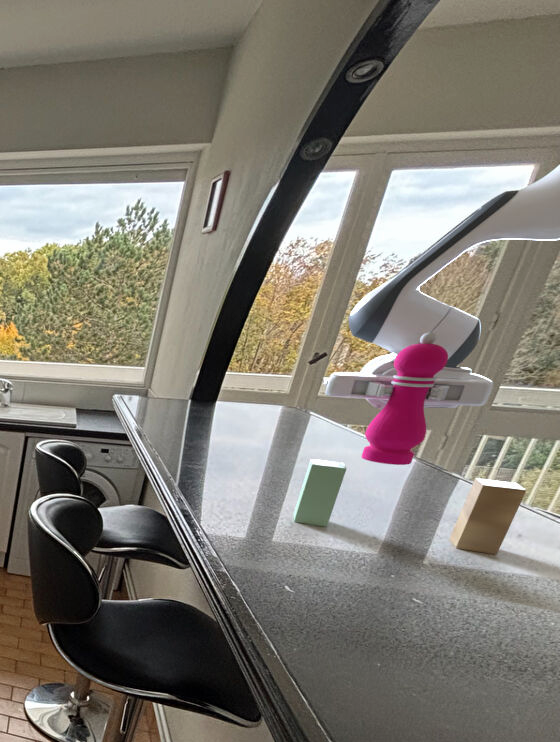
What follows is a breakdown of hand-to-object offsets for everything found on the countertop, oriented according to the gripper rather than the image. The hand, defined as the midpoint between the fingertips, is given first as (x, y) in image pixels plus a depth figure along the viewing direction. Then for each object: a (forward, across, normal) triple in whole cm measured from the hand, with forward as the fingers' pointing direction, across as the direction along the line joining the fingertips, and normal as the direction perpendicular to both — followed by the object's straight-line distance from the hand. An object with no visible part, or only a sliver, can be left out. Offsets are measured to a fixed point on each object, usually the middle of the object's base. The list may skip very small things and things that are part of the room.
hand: (410, 393), depth 92 cm
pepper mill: (-1, 0, +11) cm, 11 cm away
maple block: (+18, +9, +18) cm, 27 cm away
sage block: (+18, -9, +18) cm, 27 cm away
